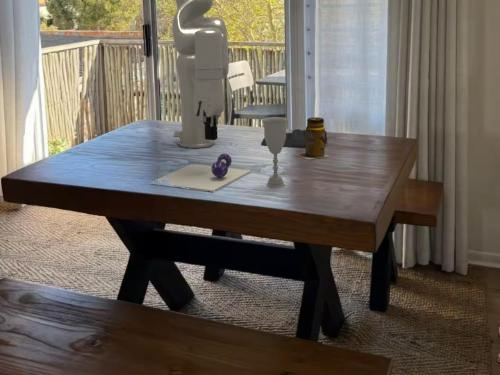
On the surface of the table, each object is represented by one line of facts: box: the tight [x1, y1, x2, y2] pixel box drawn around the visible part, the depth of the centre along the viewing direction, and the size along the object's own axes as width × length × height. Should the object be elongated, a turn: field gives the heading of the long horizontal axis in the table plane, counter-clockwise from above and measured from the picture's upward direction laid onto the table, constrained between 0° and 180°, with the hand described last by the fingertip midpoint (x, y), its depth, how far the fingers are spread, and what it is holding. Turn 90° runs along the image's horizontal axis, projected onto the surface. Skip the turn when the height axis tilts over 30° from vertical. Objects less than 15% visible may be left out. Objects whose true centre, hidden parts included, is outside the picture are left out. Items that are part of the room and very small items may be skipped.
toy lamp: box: [211, 153, 232, 177], centre depth 193 cm, size 5×5×17 cm
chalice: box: [261, 116, 289, 189], centre depth 180 cm, size 7×7×18 cm
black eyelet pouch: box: [260, 128, 328, 149], centre depth 232 cm, size 15×22×5 cm
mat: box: [153, 163, 252, 193], centre depth 190 cm, size 20×22×1 cm
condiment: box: [296, 116, 331, 160], centre depth 212 cm, size 7×8×12 cm
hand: (211, 139), depth 193 cm, fingers closed
